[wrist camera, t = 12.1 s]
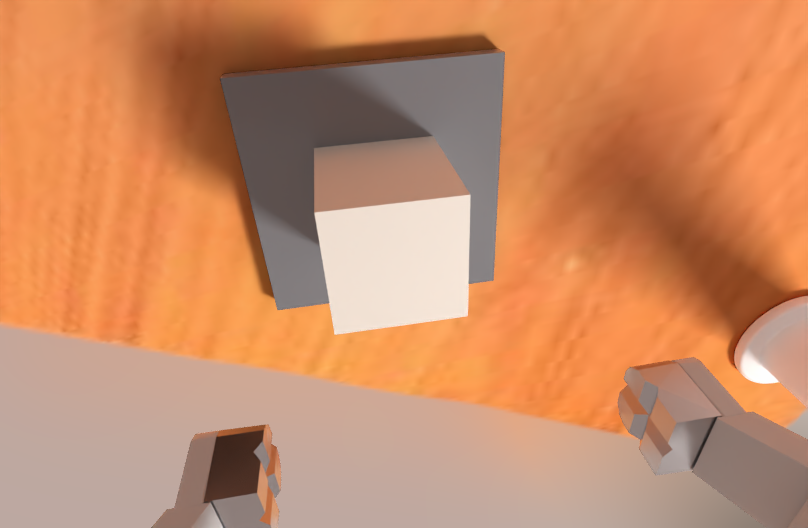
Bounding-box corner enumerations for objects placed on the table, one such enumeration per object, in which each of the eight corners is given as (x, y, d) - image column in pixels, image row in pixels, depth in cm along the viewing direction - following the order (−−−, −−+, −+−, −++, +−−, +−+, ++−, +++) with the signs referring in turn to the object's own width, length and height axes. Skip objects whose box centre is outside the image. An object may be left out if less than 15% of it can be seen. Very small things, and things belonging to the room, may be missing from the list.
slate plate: (223, 73, 19) (219, 78, 18) (498, 48, 20) (505, 52, 20) (278, 300, 25) (277, 310, 24) (488, 272, 26) (493, 280, 26)
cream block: (314, 148, 20) (314, 212, 15) (432, 136, 21) (470, 194, 16) (330, 251, 23) (334, 334, 18) (434, 238, 24) (467, 316, 19)
